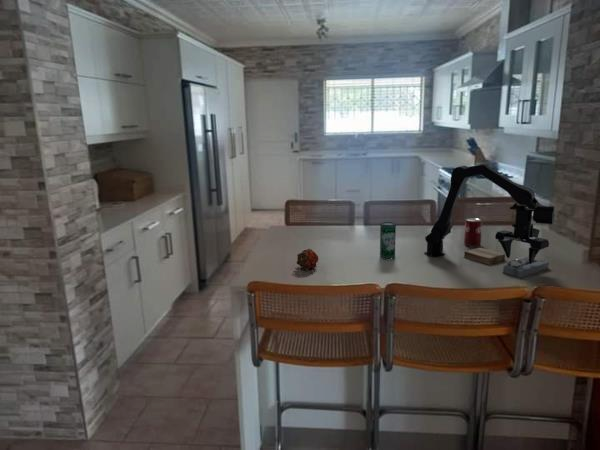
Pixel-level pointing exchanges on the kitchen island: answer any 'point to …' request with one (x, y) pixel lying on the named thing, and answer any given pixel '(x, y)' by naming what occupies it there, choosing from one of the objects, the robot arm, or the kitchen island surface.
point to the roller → (519, 262)
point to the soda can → (473, 232)
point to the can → (387, 239)
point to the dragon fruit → (307, 259)
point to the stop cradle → (526, 268)
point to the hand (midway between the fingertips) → (519, 260)
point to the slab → (484, 255)
